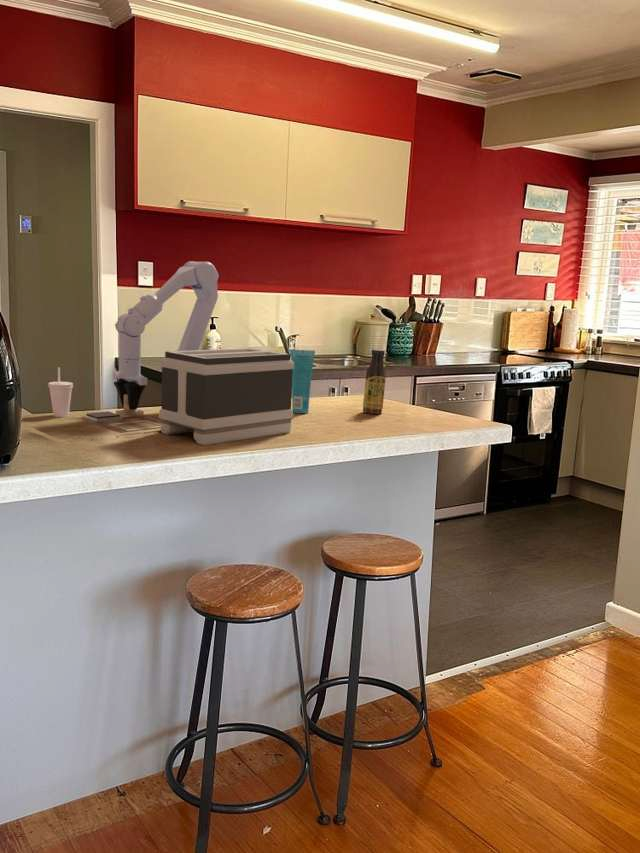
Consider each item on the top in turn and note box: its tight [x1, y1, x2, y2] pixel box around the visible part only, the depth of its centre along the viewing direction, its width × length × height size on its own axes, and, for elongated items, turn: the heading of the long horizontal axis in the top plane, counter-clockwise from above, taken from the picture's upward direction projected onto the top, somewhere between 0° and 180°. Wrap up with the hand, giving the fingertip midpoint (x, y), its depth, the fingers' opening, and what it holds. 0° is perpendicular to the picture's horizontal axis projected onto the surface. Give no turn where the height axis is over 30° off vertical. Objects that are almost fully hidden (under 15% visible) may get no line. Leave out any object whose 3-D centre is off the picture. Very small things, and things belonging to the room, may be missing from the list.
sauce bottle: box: [362, 348, 387, 415], centre depth 243 cm, size 7×6×20 cm
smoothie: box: [47, 366, 74, 418], centre depth 211 cm, size 6×6×14 cm
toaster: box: [158, 347, 294, 446], centre depth 204 cm, size 18×34×21 cm, turn 136°
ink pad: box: [83, 410, 123, 423], centre depth 210 cm, size 8×7×1 cm
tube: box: [289, 349, 316, 414], centre depth 237 cm, size 7×5×19 cm, turn 99°
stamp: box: [115, 394, 145, 419], centre depth 215 cm, size 6×4×6 cm
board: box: [77, 414, 161, 437], centre depth 208 cm, size 18×22×1 cm
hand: (129, 408), depth 215 cm, fingers closed on stamp, 3 cm apart
